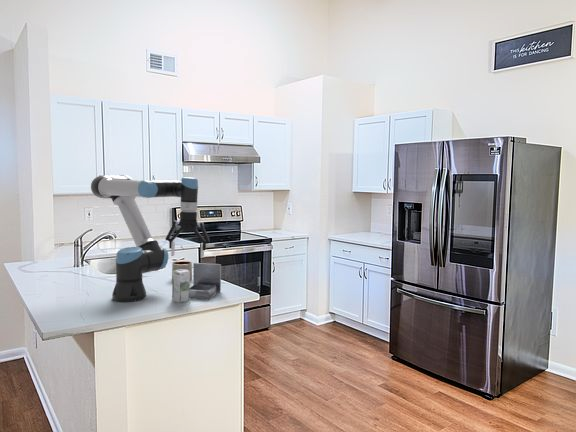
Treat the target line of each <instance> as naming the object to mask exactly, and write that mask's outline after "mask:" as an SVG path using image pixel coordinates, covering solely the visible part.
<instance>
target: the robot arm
mask: <svg viewBox="0 0 576 432" xmlns="http://www.w3.org/2000/svg"><path fill="white" fill-rule="evenodd" d="M90 190H91V193H92V195H94V196H95V197H97V198H99V199H111V201H112V203H113V205H115V206H118V209H119V210H120V213H121V215H122V217H123V220H124V222H125V224H126V226H127V229H128V231H129V234H130V235H131V237H132V239H133V242H134V245H135V246H131V247H129V246H128V247H125V248H122V249H121V248H120V249H119V250H118V251H117V252H116V255H115V257H116V258H115V271H116V272H115V275H116V276H115V278H116V279H115V280H116V282H115V286H114V289H113V291H112V300H113V301H114V302H120V303H121V302H122V303H130V302H132V303H133V302H138V301H142V300H145V299H146V298H147V291H146V288H145V285H144V282H143V274H147V273H150V272H156V271H159V270H162V269H164V268H165V267H166V266H167V265H168V261H169V253H168V249H167V248H166V247H165V246H162V245H160V244H159V241H158V240H156V239H153V236H152V234H151V232H150V230H149V228H148V225H147V223H146V221H145V219H144V217H143V215H142V213H141V211H140V208H139V205H138V204H137V202H136V197H138V198H139V197H140V198H141V197H142V198H145V199H149V198H150V199H151V198H163V197H164V198H171V197H173V198H174V197H175V198H180V212H179V214H180V215H179V217H180V218H179V221H178V220H173V222H172V226H171V228H170V230H169V231H168V233H167V235H166V237H165V241H168V242H169V245H168V246H169V247H168V248H169V249H170V251H171V252H170V256H171V257H174V256H175V245H176V243H175V241H174V240H175V239H176V238H177V237H178V236H179V235H180V234H181V233H182V232H193V233H194V234H195V236H196V237H197V238H198V239H199V241H200V242H201V244H200V259H202V258H204V251H206V248H207V244H208V243H210V242H211V240H210V239H211V238H210V237H209V235H208V232H207V231H206V229H205V226H204V225H205V223H204V221H200V222H198V212H197V211H198V194H199V193H198V192H199V180H198V178H196V177H188V176H187V177H186V176H185V177H182V178H181V179H180V180H172V179H165V180H149V179H148V180H147V179H146V180H143V179H133V178H132V177H131V176H129V175H124V174H123V175H122V174H121V175H120V174H119V175H109V174H107V175H106V174H103V175H98V176H96V177H95V178H93V180H91V183H90ZM178 226H180V228H179V229H178V230H177V231H176V232H175V233H174V231H175V229H176V227H178ZM197 227H199V228H200V230H201V233H202V234H201V233H200V232H199V230H198V229H197ZM173 233H174V235H173ZM171 236H172V237H171Z"/></svg>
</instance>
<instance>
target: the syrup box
mask: <svg viewBox="0 0 576 432" xmlns="http://www.w3.org/2000/svg"><path fill="white" fill-rule="evenodd" d="M190 281H191V280H190V271H188V270H185V269H180V270H175V271H173V280H172V288H171V289H172V291H171V293H172V295H171V301H173V302H175V303H178V304H180V303H186V302H188V301H190V298H189V289H190V286H191V285H190V283H191V282H190Z"/></svg>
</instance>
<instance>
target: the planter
mask: <svg viewBox="0 0 576 432" xmlns="http://www.w3.org/2000/svg"><path fill="white" fill-rule="evenodd" d="M171 266H172V267H171V281H173V271H175V270H180V269H185V270H188V271H190V281H191V280H192V279H193V271H192V270H193V262H192V261H188V260H178V261H173V262H172V263H171Z"/></svg>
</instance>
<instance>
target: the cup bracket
mask: <svg viewBox="0 0 576 432" xmlns="http://www.w3.org/2000/svg"><path fill="white" fill-rule="evenodd" d="M192 270H193V271H192V279H193V283H192V284H191V285H190V289H189V299H193V298H196V299H197V300H199V299H200V300H207V299H208V301H209V300H210V299H211V298H212V297H214V296H215V295H216V294H218V293H221V292H220V291H221V290H222V288H221V286H222V264H219V263H203V262H201V263H200V262H193V268H192ZM215 293H216V294H215ZM214 294H215V295H214ZM213 295H214V296H213Z"/></svg>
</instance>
